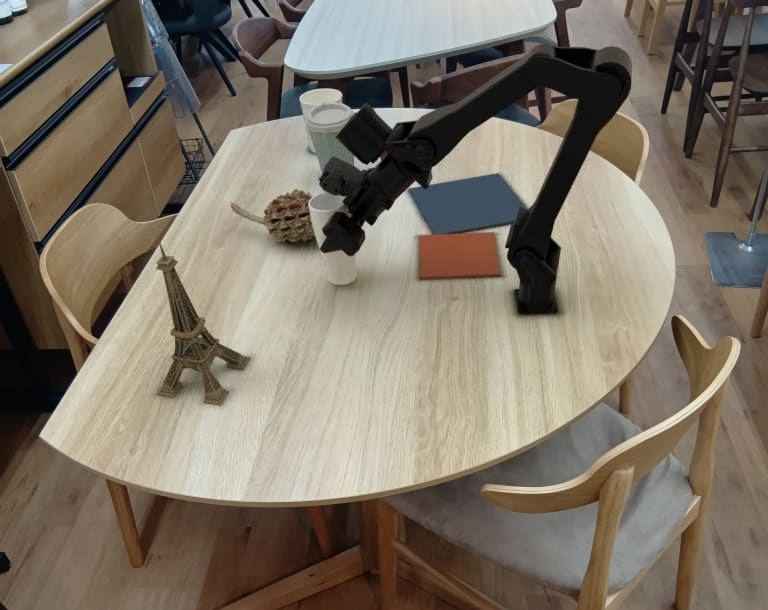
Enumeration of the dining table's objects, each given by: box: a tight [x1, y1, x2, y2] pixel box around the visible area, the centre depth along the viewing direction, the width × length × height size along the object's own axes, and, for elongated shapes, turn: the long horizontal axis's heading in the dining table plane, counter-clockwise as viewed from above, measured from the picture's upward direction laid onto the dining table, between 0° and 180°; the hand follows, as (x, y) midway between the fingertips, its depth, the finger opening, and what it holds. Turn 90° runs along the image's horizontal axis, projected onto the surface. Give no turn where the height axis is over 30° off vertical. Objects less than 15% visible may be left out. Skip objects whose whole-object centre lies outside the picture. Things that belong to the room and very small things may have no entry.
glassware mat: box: [408, 172, 529, 235], centre depth 135 cm, size 20×20×1 cm
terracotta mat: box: [419, 231, 501, 280], centre depth 122 cm, size 14×14×1 cm
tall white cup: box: [308, 191, 358, 286], centre depth 112 cm, size 7×7×15 cm
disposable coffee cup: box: [305, 102, 355, 174], centre depth 142 cm, size 11×11×15 cm
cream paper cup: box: [298, 88, 343, 154], centre depth 156 cm, size 10×10×12 cm
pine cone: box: [229, 188, 316, 243], centre depth 127 cm, size 22×10×10 cm, turn 73°
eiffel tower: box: [155, 231, 251, 406], centre depth 93 cm, size 11×11×25 cm
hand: (328, 240), depth 113 cm, fingers closed on tall white cup, 6 cm apart
